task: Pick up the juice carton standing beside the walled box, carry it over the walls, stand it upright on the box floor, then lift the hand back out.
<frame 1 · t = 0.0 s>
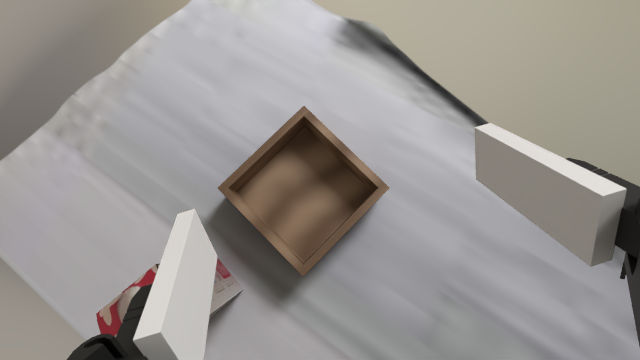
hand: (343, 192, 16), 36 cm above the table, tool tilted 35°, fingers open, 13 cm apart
juice carton: (210, 287, 50), on the table
walled box: (305, 193, 52), on the table
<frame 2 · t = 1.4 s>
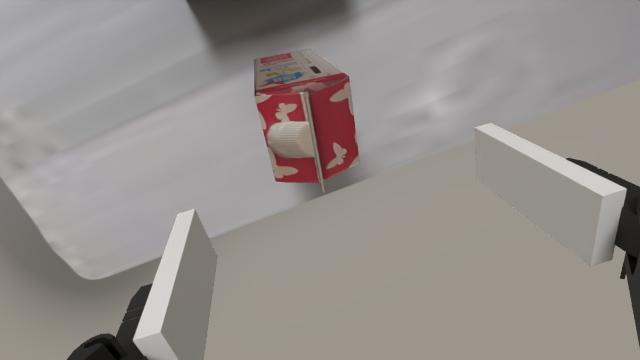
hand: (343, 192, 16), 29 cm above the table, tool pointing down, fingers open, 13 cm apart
juice carton: (288, 82, 42), on the table
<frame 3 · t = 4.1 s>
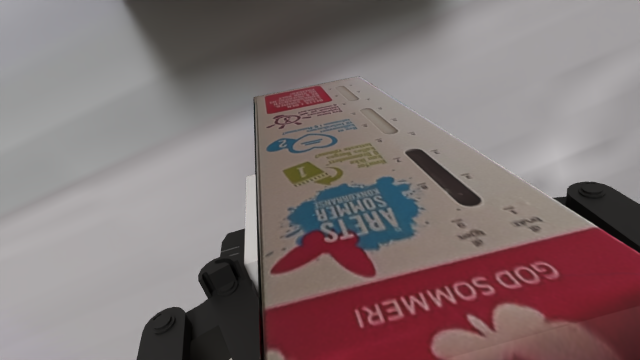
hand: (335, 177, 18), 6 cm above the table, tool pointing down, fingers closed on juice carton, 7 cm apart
juice carton: (315, 136, 23), on the table, touching gripper
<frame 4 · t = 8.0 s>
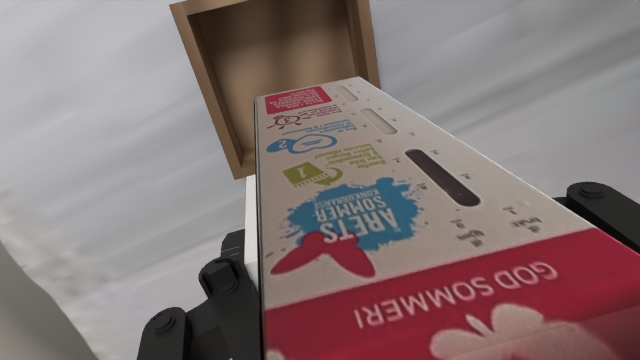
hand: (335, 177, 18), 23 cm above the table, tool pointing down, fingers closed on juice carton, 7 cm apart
juice carton: (315, 136, 23), point 17 cm above the table, touching gripper
walled box: (286, 69, 37), on the table
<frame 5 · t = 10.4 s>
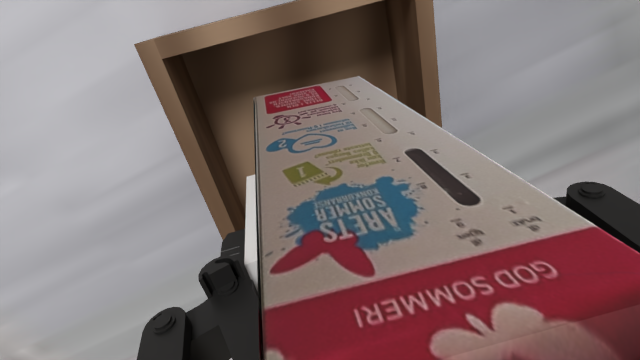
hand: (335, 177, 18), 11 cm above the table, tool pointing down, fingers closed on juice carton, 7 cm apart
juice carton: (315, 136, 23), point 5 cm above the table, touching gripper
walled box: (306, 117, 27), on the table
when the fingers open (8 cm above the table, at t = 11.8 s): juice carton drops 1 cm, resting on walled box.
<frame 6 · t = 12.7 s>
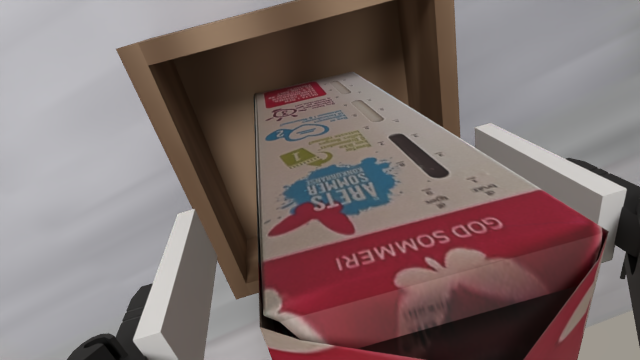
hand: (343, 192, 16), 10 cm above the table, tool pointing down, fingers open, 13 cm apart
juice carton: (313, 129, 24), point 1 cm above the table, touching walled box
walled box: (310, 126, 25), on the table
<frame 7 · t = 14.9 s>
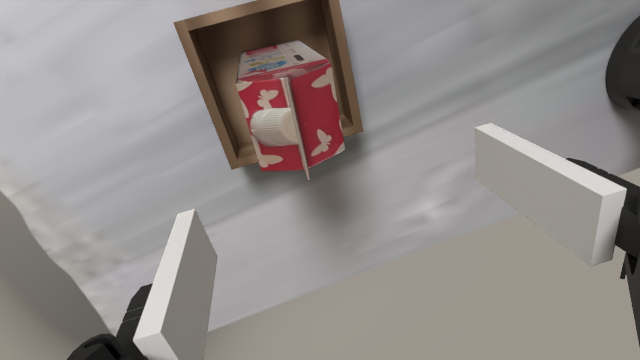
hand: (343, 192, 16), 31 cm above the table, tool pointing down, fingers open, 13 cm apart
juice carton: (276, 74, 42), point 1 cm above the table, touching walled box
walled box: (275, 73, 43), on the table
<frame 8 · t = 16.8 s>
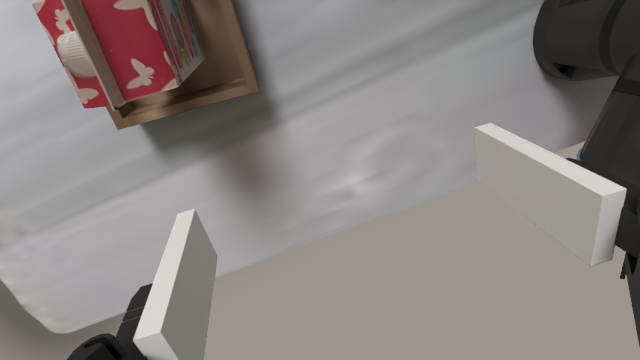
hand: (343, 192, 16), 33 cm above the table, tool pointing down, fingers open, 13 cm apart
juice carton: (169, 31, 40), point 1 cm above the table, touching walled box
walled box: (169, 31, 41), on the table
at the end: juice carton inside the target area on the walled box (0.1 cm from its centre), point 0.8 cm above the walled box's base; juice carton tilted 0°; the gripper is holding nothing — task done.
